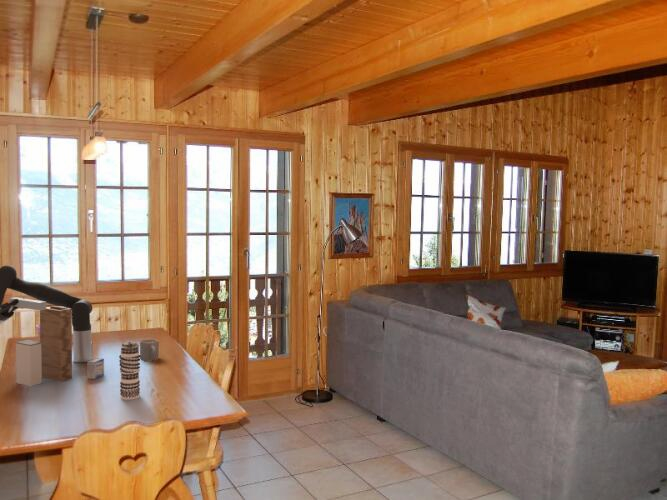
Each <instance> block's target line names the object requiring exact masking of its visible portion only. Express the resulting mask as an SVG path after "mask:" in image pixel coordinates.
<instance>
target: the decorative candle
mask: <svg viewBox="0 0 667 500" xmlns="http://www.w3.org/2000/svg"><path fill="white" fill-rule="evenodd" d="M119 346H120V355H119V356H118V357H119V366H120V367H119V370H120V371H119V373H120V376H121V377H120V382H119V384H120V385H119V387H120V390H119V391H120V393H119V394H120V396H119V397H120V399H121V400H135V399H138V398H139V397H140V393H141V391H140V390H141V388H140V383H141V381H140V373H139V372H140V369H141V366H140V365H141V363H140V361H141V360H140V357H141V356H140V344H138V343H137V342H136V341H134V340H133V341H131V340H130V341H124V342H123V343H122V344H121V345H119Z"/></svg>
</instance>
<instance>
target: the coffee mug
mask: <svg viewBox="0 0 667 500" xmlns="http://www.w3.org/2000/svg"><path fill="white" fill-rule="evenodd" d="M159 343H160V342H159V340H158V339H154V338H147V339H142V340H140V342H139V355H140V356H141V357H139V358H140V359H141V360H140V361H143V360H153V361H155V360H154V359H157V358H158V357H160V356H159V355H160V354H159V353H160V351H159ZM158 359H159V358H158ZM158 359H157V360H158Z"/></svg>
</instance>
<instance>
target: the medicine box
mask: <svg viewBox="0 0 667 500" xmlns="http://www.w3.org/2000/svg"><path fill="white" fill-rule="evenodd" d="M86 363H87V365H86V367H87V369H86V371H87V372H86V373H87V379H88V380H89V379H90V380H96V379H99V378H101V377H103V376H104V375H105V359H104V358H103V357H102V358H101V357H96V358H93V359H92V360H91V361H88V362H86Z"/></svg>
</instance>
